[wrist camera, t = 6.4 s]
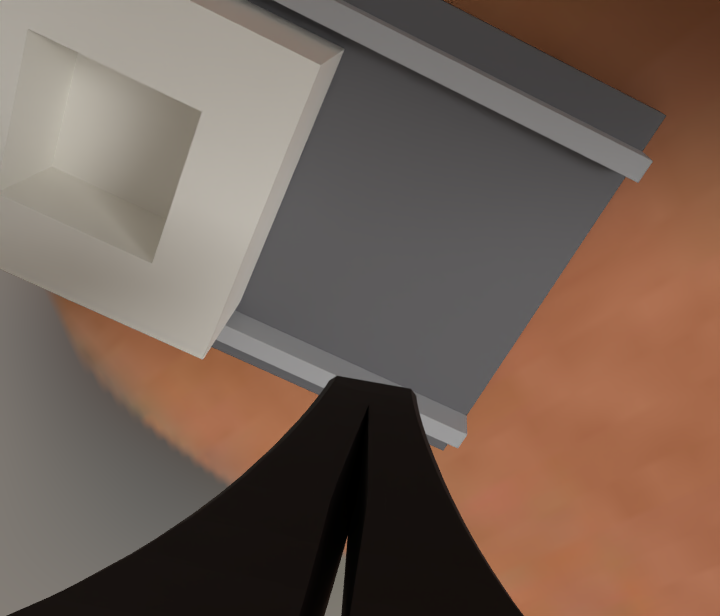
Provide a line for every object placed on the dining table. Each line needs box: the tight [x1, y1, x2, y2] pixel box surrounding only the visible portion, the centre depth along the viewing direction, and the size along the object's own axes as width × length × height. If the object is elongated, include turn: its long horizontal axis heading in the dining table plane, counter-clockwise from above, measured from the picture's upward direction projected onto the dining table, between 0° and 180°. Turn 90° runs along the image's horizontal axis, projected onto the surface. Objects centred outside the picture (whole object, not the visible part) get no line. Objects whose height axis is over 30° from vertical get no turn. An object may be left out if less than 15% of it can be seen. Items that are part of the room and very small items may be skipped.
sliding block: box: [0, 0, 344, 359], centre depth 17 cm, size 8×8×4 cm
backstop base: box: [211, 0, 666, 450], centre depth 16 cm, size 19×12×7 cm, turn 66°
